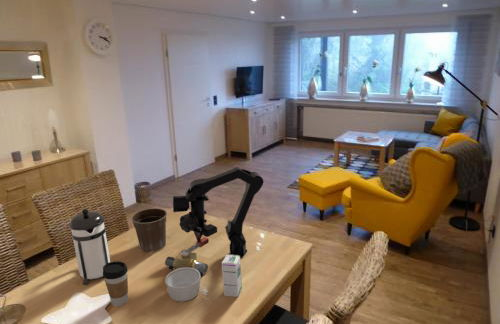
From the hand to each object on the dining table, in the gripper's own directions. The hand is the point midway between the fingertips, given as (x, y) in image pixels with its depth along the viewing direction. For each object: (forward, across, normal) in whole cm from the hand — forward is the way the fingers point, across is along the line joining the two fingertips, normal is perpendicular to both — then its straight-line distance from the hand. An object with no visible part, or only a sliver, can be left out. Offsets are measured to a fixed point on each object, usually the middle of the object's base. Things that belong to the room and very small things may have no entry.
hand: (198, 241), depth 155 cm
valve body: (+8, +3, -10) cm, 13 cm away
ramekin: (+8, +14, -19) cm, 25 cm away
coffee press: (+10, -24, -36) cm, 45 cm away
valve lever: (+1, +2, -4) cm, 5 cm away
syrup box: (+7, +28, -7) cm, 30 cm away
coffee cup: (+9, 0, -38) cm, 39 cm away
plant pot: (+10, -26, -8) cm, 29 cm away
